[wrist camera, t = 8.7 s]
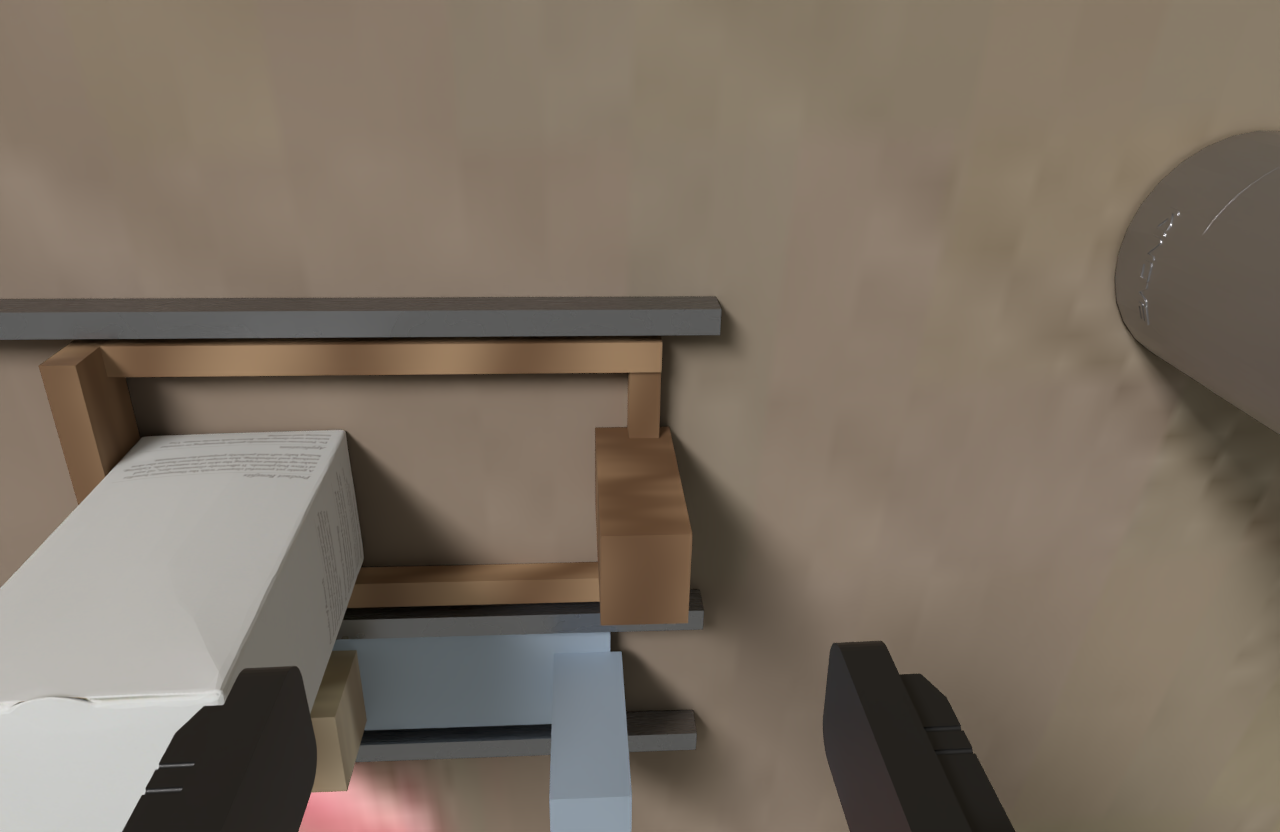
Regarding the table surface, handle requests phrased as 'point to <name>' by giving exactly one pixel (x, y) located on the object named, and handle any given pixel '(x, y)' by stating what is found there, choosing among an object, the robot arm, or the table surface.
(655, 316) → the guide rails
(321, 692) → the beech cube
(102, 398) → the walnut frame
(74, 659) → the skincare box
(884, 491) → the table surface
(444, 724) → the pale blue bent piece
